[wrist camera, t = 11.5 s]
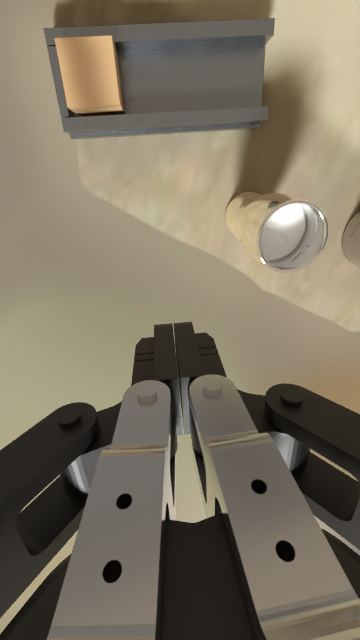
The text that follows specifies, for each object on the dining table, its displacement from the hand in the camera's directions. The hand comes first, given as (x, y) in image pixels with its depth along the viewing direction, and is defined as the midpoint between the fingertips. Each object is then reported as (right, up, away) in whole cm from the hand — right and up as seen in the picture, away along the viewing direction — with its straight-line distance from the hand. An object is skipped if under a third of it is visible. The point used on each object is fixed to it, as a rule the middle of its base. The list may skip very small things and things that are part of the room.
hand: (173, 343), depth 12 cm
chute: (-2, +27, +21) cm, 34 cm away
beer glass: (+9, +15, +28) cm, 33 cm away
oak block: (-8, +26, +20) cm, 34 cm away
